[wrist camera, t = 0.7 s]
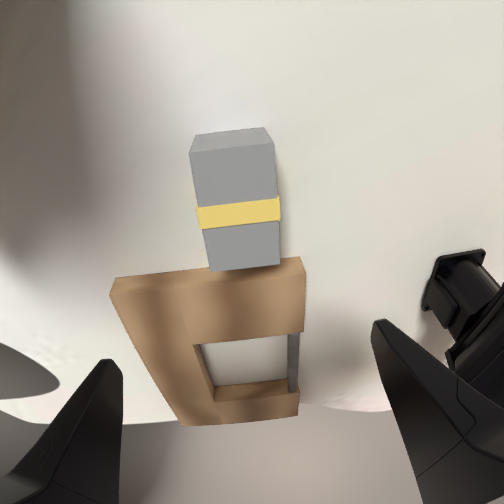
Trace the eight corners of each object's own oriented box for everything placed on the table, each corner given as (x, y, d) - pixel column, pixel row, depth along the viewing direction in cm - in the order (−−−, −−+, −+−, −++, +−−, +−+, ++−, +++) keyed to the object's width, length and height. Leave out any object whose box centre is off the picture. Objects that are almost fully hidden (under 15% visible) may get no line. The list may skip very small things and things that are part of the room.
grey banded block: (265, 127, 17) (276, 143, 14) (272, 229, 21) (282, 264, 18) (194, 135, 17) (186, 153, 14) (210, 236, 21) (208, 273, 18)
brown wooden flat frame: (299, 256, 22) (305, 273, 21) (294, 401, 35) (297, 415, 33) (115, 278, 22) (108, 295, 20) (183, 412, 34) (182, 426, 33)
